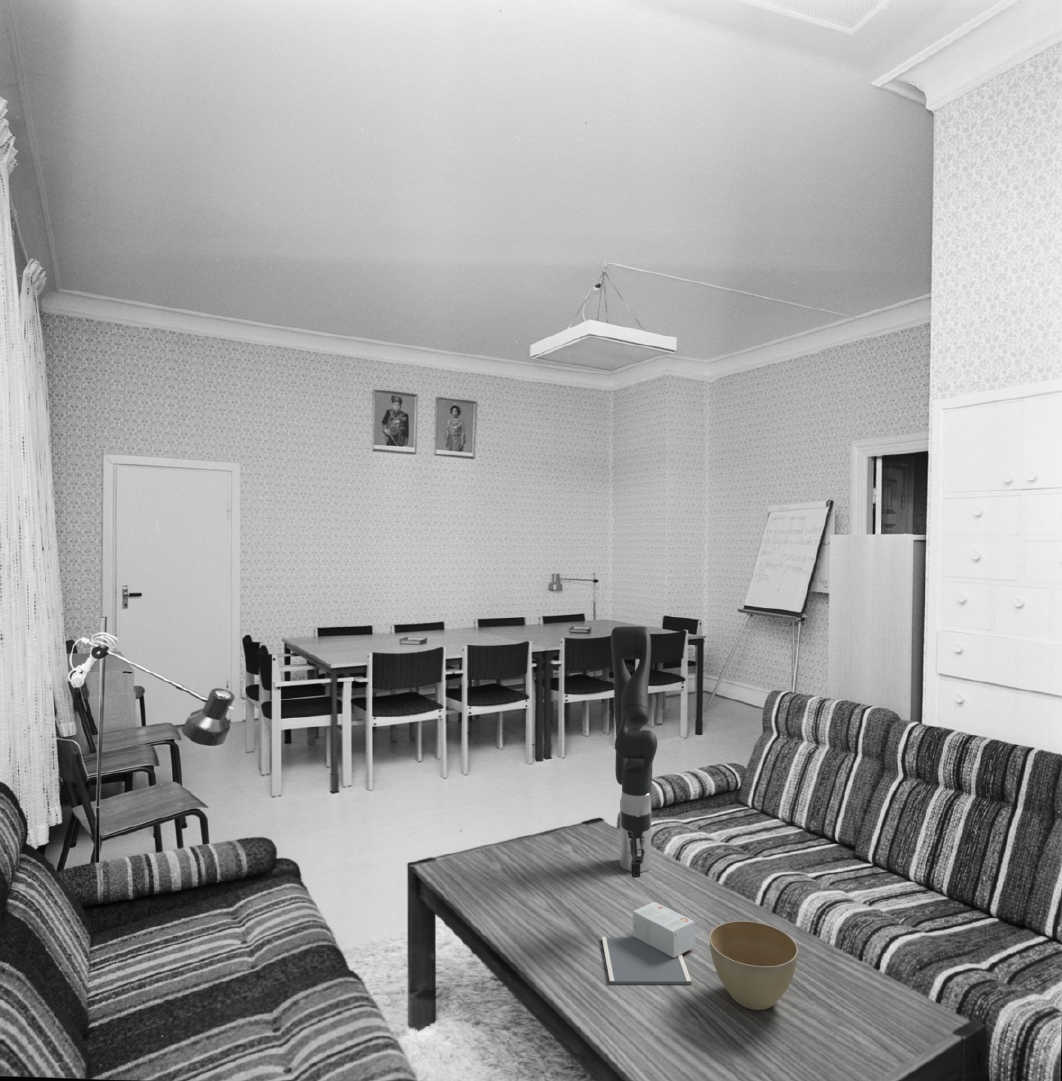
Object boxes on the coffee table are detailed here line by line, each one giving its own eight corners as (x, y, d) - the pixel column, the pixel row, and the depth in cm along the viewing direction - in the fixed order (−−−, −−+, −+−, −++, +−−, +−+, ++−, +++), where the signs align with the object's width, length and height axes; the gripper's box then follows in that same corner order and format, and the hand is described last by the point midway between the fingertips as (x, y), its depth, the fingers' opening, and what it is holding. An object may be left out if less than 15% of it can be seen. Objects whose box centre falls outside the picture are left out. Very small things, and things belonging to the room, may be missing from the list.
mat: (601, 939, 183) (601, 936, 183) (675, 940, 183) (675, 937, 183) (609, 983, 165) (609, 980, 165) (691, 984, 165) (691, 981, 165)
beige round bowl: (736, 964, 173) (736, 911, 173) (812, 999, 160) (812, 942, 160) (692, 997, 160) (693, 941, 160) (771, 1038, 148) (771, 977, 147)
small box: (632, 936, 184) (673, 959, 174) (632, 910, 184) (672, 931, 174) (654, 926, 189) (695, 947, 179) (654, 900, 189) (695, 920, 179)
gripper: (617, 799, 196) (617, 864, 197) (624, 819, 183) (624, 889, 184) (646, 798, 196) (646, 864, 197) (655, 819, 183) (654, 889, 184)
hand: (635, 876), depth 190 cm, fingers closed
